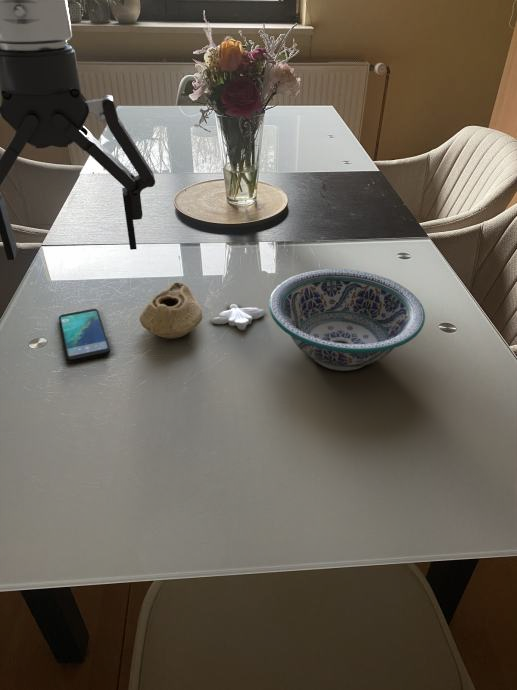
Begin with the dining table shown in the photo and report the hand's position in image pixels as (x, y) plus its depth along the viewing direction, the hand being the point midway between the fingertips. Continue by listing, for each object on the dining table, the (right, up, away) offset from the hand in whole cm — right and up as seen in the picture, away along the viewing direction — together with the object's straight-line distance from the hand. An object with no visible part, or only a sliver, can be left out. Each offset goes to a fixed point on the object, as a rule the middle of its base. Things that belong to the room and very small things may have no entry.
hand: (74, 250), depth 63 cm
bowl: (+36, -13, +29) cm, 48 cm away
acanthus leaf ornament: (+18, -6, +38) cm, 42 cm away
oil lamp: (+6, -8, +35) cm, 37 cm away
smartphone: (-9, -10, +32) cm, 35 cm away
